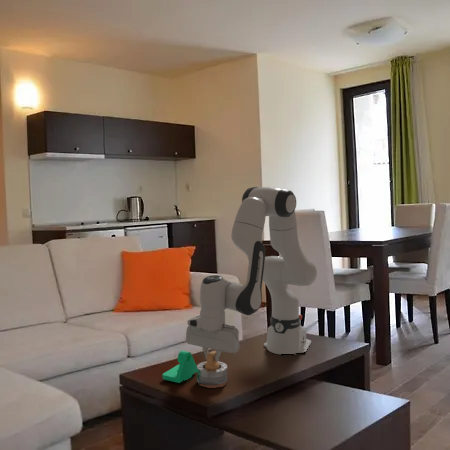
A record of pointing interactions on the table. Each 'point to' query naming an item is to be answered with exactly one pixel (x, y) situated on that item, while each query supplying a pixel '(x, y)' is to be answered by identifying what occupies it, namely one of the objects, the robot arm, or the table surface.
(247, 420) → the table surface
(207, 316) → the robot arm
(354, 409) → the table surface
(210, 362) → the orange stepped plug
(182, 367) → the camera mount
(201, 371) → the knurled grey ring
